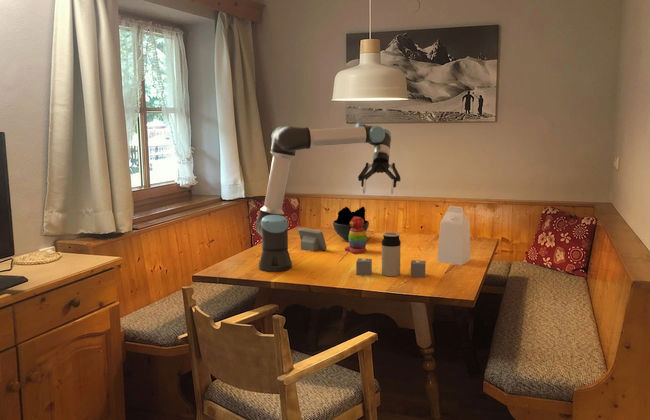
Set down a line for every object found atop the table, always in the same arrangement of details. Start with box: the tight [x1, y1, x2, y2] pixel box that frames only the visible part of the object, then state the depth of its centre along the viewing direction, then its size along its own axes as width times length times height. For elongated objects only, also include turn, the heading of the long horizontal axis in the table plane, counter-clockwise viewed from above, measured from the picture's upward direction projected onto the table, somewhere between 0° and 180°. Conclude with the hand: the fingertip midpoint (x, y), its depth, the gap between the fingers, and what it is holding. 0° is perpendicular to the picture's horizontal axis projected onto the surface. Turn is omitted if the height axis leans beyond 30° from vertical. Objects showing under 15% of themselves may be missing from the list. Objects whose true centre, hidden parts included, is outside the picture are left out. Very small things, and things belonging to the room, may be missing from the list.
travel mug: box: [381, 231, 402, 278], centre depth 253 cm, size 8×8×18 cm
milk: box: [436, 205, 471, 266], centre depth 276 cm, size 12×12×26 cm
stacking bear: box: [344, 216, 368, 255], centre depth 298 cm, size 11×10×18 cm
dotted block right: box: [410, 259, 427, 279], centre depth 252 cm, size 6×6×6 cm
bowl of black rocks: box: [332, 206, 370, 241], centre depth 326 cm, size 20×20×19 cm
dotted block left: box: [355, 257, 373, 276], centre depth 256 cm, size 6×6×6 cm
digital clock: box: [297, 227, 327, 252], centre depth 304 cm, size 16×9×11 cm, turn 39°
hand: (377, 192), depth 268 cm, fingers open, 12 cm apart
